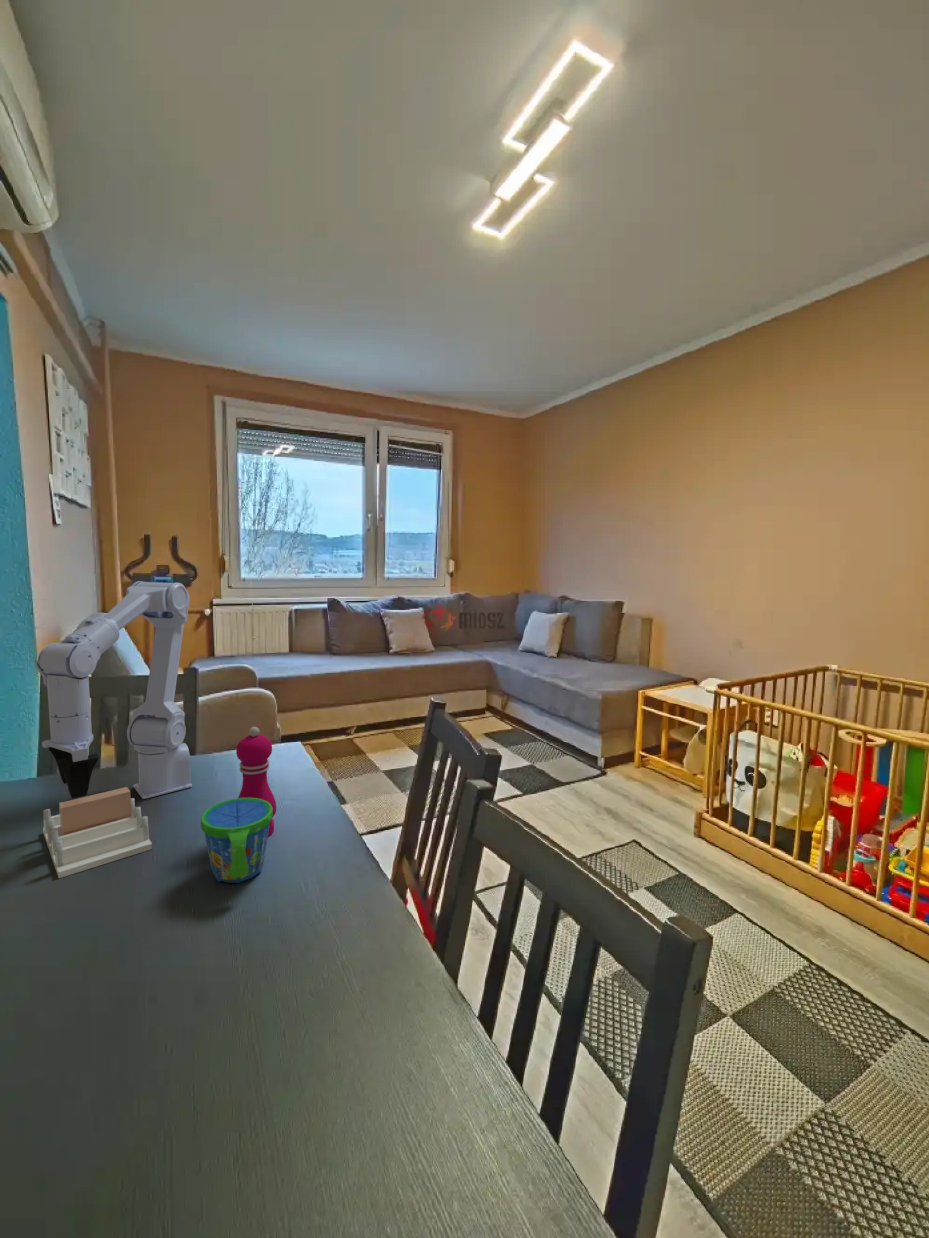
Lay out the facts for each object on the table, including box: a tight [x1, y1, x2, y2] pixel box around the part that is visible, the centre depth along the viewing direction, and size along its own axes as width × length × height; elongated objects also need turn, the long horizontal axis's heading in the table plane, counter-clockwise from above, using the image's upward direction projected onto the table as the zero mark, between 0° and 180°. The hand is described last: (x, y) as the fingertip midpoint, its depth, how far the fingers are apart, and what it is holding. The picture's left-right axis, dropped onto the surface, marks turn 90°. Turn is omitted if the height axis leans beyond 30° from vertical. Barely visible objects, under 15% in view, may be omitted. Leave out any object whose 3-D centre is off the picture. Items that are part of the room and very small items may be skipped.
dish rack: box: [42, 797, 153, 879], centre depth 95 cm, size 13×18×5 cm
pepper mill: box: [235, 726, 277, 838], centre depth 99 cm, size 7×7×20 cm
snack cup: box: [200, 797, 274, 884], centre depth 87 cm, size 16×10×10 cm
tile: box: [58, 786, 132, 836], centre depth 95 cm, size 10×2×7 cm, turn 133°
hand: (74, 788), depth 94 cm, fingers open, 7 cm apart
